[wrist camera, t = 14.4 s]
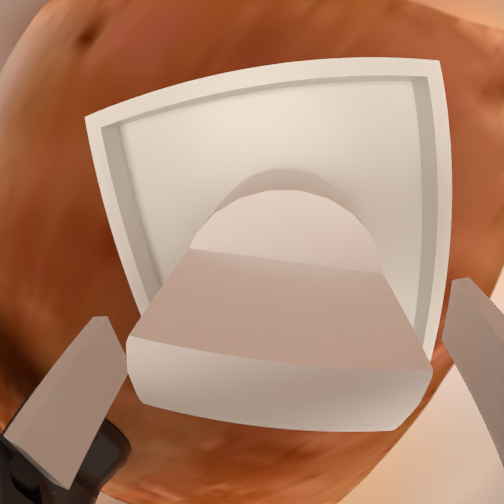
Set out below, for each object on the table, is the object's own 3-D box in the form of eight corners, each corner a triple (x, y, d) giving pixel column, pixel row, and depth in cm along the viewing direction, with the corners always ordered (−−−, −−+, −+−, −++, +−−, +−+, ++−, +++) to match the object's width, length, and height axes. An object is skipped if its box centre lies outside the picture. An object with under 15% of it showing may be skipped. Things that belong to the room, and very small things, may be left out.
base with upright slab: (208, 294, 21) (147, 444, 10) (216, 160, 17) (105, 226, 6) (338, 311, 20) (369, 468, 9) (369, 181, 17) (485, 277, 6)
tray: (181, 359, 25) (171, 384, 22) (110, 115, 17) (84, 117, 15) (418, 337, 22) (430, 361, 19) (418, 68, 14) (439, 60, 11)
